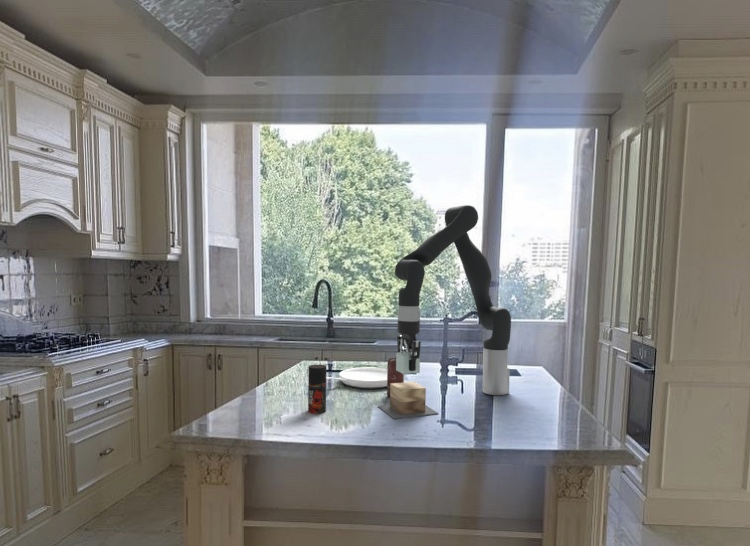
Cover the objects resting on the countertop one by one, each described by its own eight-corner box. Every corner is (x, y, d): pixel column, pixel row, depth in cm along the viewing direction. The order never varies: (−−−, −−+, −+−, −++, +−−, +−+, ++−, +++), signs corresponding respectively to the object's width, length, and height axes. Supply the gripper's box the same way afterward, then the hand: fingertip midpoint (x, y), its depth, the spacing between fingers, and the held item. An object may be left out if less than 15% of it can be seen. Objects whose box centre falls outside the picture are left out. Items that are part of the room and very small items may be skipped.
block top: (413, 393, 167) (413, 381, 167) (425, 399, 158) (425, 387, 158) (390, 395, 163) (390, 383, 163) (400, 402, 155) (400, 390, 155)
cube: (412, 369, 165) (412, 351, 164) (419, 372, 159) (420, 354, 159) (396, 370, 162) (396, 352, 162) (403, 374, 157) (403, 355, 157)
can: (402, 399, 174) (403, 361, 174) (385, 398, 176) (386, 360, 175) (405, 394, 180) (405, 358, 180) (388, 393, 181) (389, 357, 181)
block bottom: (413, 404, 167) (413, 393, 167) (425, 411, 158) (425, 399, 158) (389, 406, 164) (390, 395, 163) (400, 414, 155) (400, 402, 155)
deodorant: (328, 409, 161) (329, 365, 161) (321, 414, 155) (321, 368, 155) (313, 407, 163) (313, 363, 163) (304, 412, 157) (305, 367, 157)
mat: (419, 402, 170) (419, 401, 170) (438, 414, 157) (438, 413, 157) (377, 406, 165) (377, 405, 165) (393, 419, 152) (393, 418, 152)
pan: (411, 385, 195) (411, 373, 195) (330, 399, 174) (330, 386, 174) (376, 373, 216) (377, 363, 216) (300, 384, 194) (300, 372, 194)
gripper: (428, 321, 155) (427, 372, 155) (409, 316, 169) (409, 363, 169) (407, 321, 152) (406, 374, 153) (390, 317, 166) (389, 365, 166)
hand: (407, 368), depth 161 cm, fingers closed on cube, 6 cm apart
